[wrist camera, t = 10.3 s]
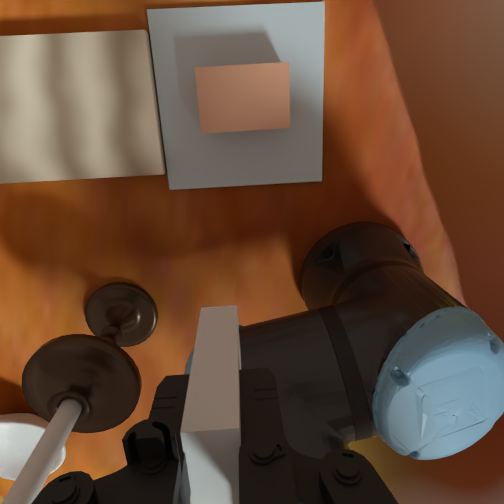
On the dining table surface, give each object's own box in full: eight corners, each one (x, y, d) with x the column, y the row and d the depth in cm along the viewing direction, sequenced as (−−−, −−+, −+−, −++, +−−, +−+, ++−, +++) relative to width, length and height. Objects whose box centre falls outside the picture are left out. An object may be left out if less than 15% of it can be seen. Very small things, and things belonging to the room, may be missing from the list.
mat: (323, 3, 38) (324, 1, 38) (320, 180, 44) (322, 181, 44) (147, 10, 38) (146, 9, 37) (170, 189, 44) (169, 189, 43)
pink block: (283, 66, 39) (288, 61, 36) (285, 126, 41) (290, 127, 38) (198, 72, 39) (194, 67, 35) (204, 131, 41) (201, 133, 37)
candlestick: (99, 356, 51) (-138, 788, 18) (66, 287, 47) (-306, 674, 15) (175, 337, 51) (71, 745, 18) (148, 266, 47) (-47, 617, 14)
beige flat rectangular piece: (148, 33, 38) (144, 29, 36) (166, 171, 43) (163, 174, 41) (-31, 41, 38) (-44, 38, 36) (7, 180, 43) (-3, 183, 41)
